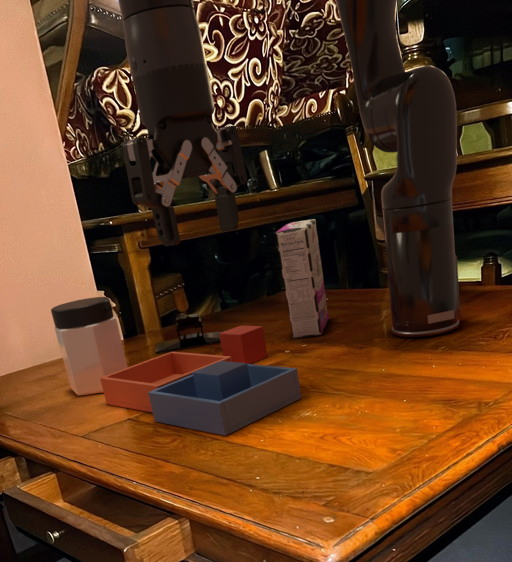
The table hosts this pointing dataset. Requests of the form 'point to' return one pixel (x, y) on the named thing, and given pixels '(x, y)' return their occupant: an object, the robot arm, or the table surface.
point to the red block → (244, 344)
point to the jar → (88, 342)
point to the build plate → (191, 339)
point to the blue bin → (226, 401)
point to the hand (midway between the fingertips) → (202, 237)
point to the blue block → (221, 380)
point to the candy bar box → (303, 278)
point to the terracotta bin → (152, 378)
